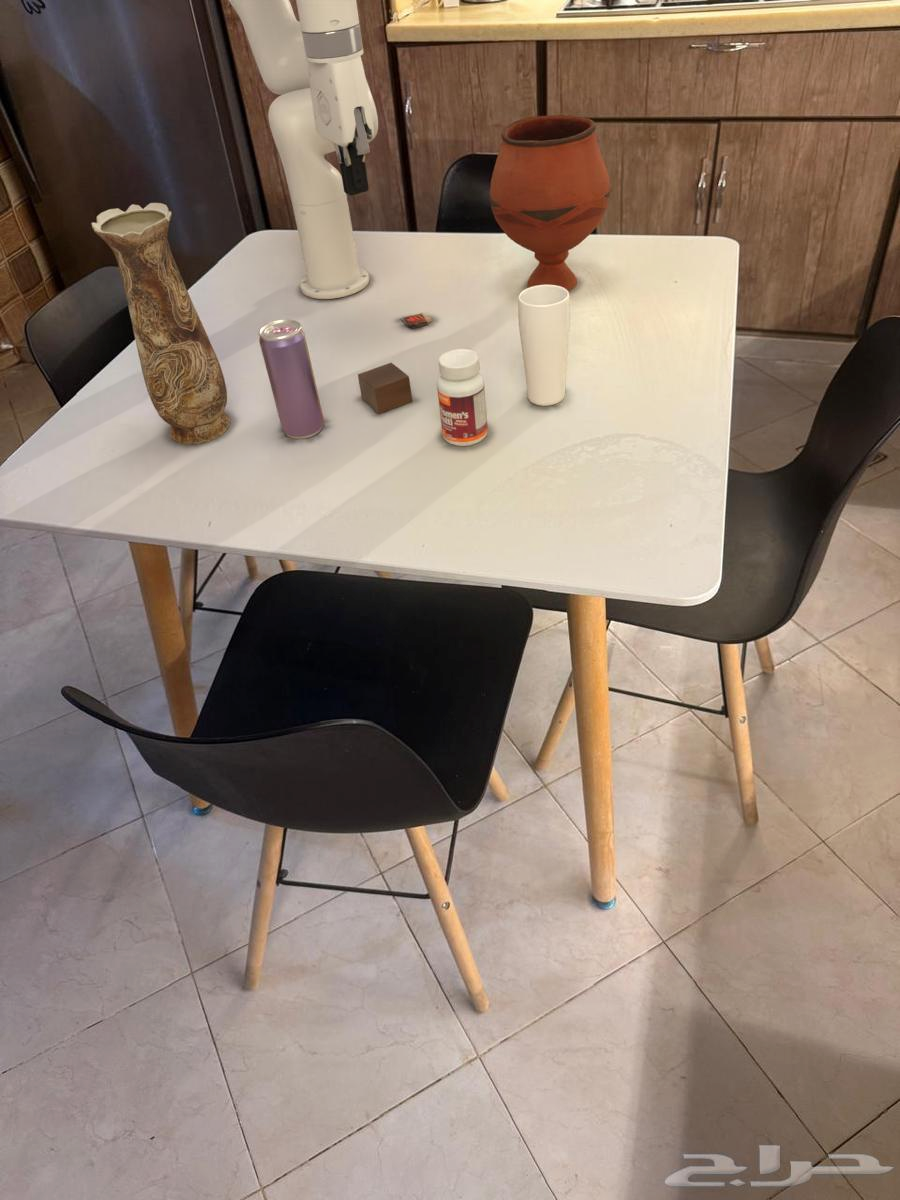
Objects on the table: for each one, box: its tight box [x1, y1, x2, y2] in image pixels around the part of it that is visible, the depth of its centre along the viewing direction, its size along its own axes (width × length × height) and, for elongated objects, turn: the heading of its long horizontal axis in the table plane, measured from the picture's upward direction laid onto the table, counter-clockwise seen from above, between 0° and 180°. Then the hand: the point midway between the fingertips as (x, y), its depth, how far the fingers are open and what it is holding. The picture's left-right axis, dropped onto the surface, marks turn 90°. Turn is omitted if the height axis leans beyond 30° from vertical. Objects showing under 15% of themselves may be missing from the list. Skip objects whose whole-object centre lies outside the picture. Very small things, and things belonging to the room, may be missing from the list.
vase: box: [91, 202, 231, 445], centre depth 115 cm, size 10×11×30 cm
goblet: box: [489, 114, 611, 292], centre depth 142 cm, size 19×19×25 cm
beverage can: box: [258, 318, 325, 440], centre depth 118 cm, size 6×6×15 cm
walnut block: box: [357, 362, 413, 415], centre depth 125 cm, size 6×6×4 cm
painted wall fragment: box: [399, 312, 434, 329], centre depth 144 cm, size 5×5×1 cm
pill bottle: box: [436, 348, 488, 447], centre depth 114 cm, size 6×6×11 cm
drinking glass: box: [517, 285, 571, 407], centre depth 117 cm, size 7×7×15 cm
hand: (356, 191), depth 125 cm, fingers closed
